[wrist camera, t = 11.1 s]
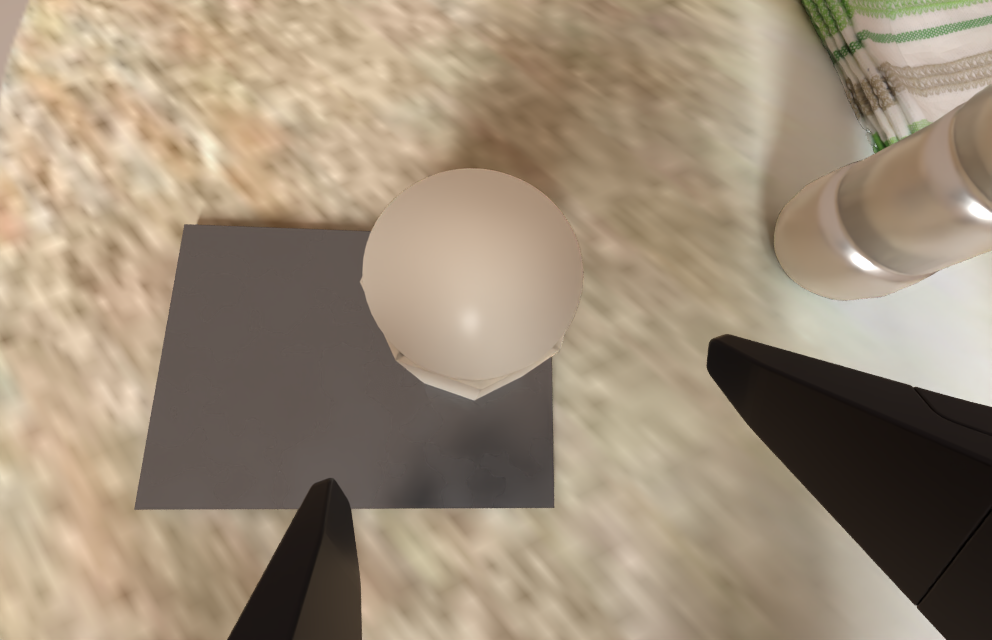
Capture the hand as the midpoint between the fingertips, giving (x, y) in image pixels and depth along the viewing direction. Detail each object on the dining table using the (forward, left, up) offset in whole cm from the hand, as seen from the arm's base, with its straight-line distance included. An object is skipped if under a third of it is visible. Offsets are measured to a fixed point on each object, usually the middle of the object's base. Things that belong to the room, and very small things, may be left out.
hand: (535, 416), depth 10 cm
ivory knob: (+1, -4, -11) cm, 12 cm away
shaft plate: (+6, -2, -12) cm, 14 cm away
